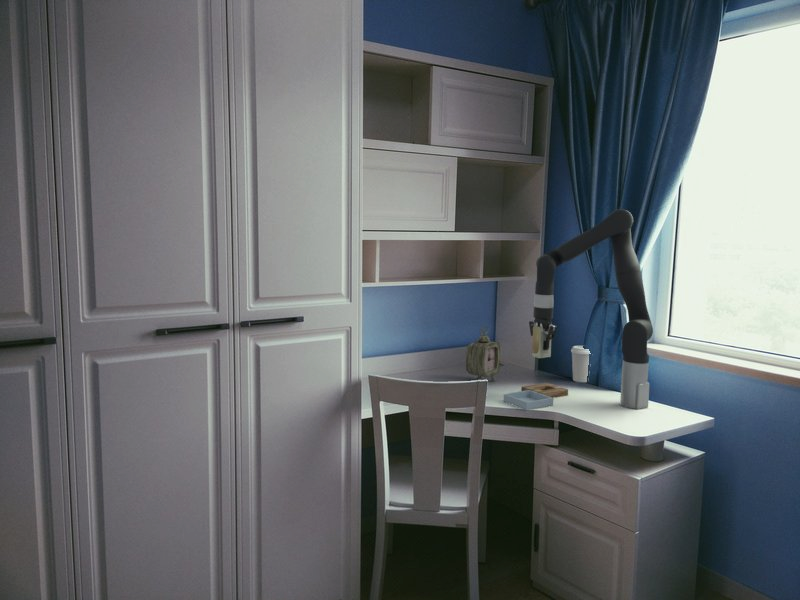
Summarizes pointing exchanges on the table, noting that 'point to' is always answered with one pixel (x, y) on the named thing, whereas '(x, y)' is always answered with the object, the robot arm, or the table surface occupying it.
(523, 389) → the walnut plate
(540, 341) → the skincare box
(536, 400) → the tray
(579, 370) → the coffee cup
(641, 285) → the robot arm
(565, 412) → the table surface
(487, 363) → the tabletop clock
